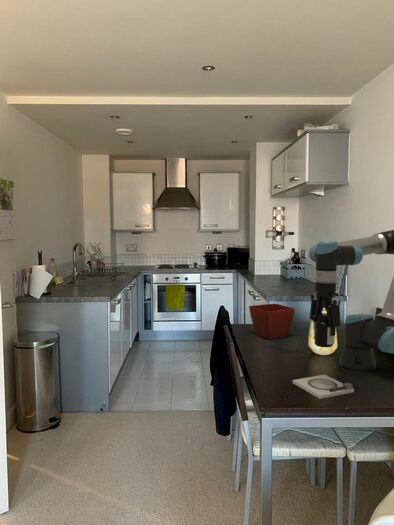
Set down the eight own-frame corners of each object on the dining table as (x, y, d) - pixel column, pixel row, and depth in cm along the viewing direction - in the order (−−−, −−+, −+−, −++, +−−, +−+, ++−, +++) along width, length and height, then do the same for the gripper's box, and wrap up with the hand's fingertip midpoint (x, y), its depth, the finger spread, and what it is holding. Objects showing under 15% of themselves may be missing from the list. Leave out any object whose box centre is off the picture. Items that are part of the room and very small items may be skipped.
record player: (324, 377, 163) (324, 370, 163) (353, 391, 148) (354, 384, 148) (292, 383, 156) (292, 376, 156) (319, 398, 142) (320, 391, 142)
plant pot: (247, 333, 231) (248, 305, 230) (274, 330, 239) (275, 303, 238) (266, 342, 214) (267, 311, 213) (295, 338, 222) (295, 308, 221)
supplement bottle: (329, 342, 154) (330, 312, 154) (335, 347, 148) (336, 316, 147) (311, 342, 154) (312, 312, 153) (317, 347, 147) (318, 316, 146)
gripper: (300, 279, 157) (299, 336, 158) (336, 285, 138) (334, 349, 140) (316, 278, 160) (314, 334, 161) (352, 284, 141) (350, 347, 143)
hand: (323, 341), depth 151 cm, fingers closed on supplement bottle, 7 cm apart
